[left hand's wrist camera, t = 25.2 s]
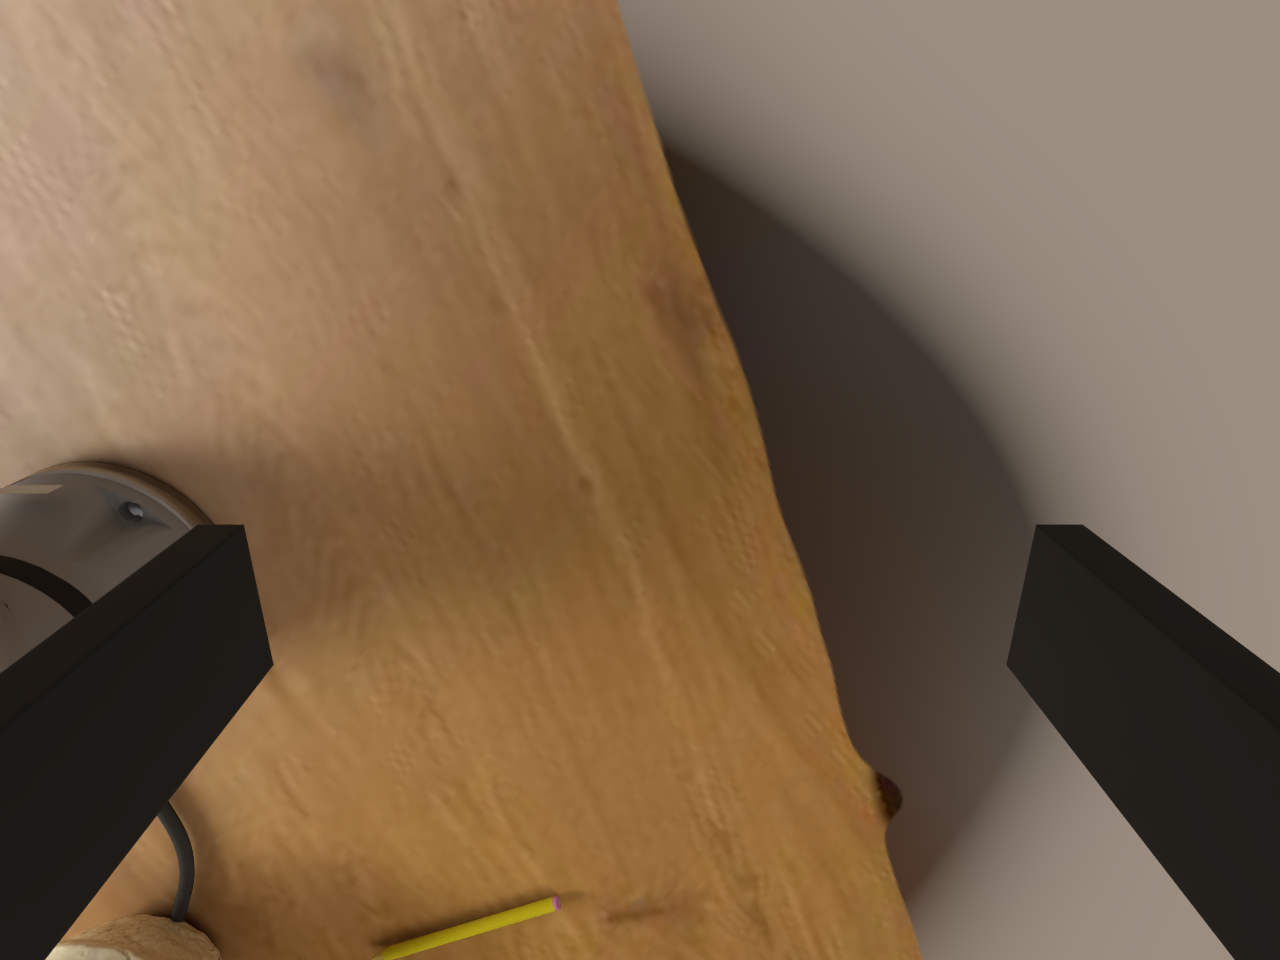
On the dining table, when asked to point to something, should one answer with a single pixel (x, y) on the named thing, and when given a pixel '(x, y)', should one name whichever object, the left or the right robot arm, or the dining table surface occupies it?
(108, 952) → the bowl
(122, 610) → the left robot arm
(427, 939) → the pencil
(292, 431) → the dining table surface
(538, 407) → the dining table surface
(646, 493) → the dining table surface
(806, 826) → the dining table surface
